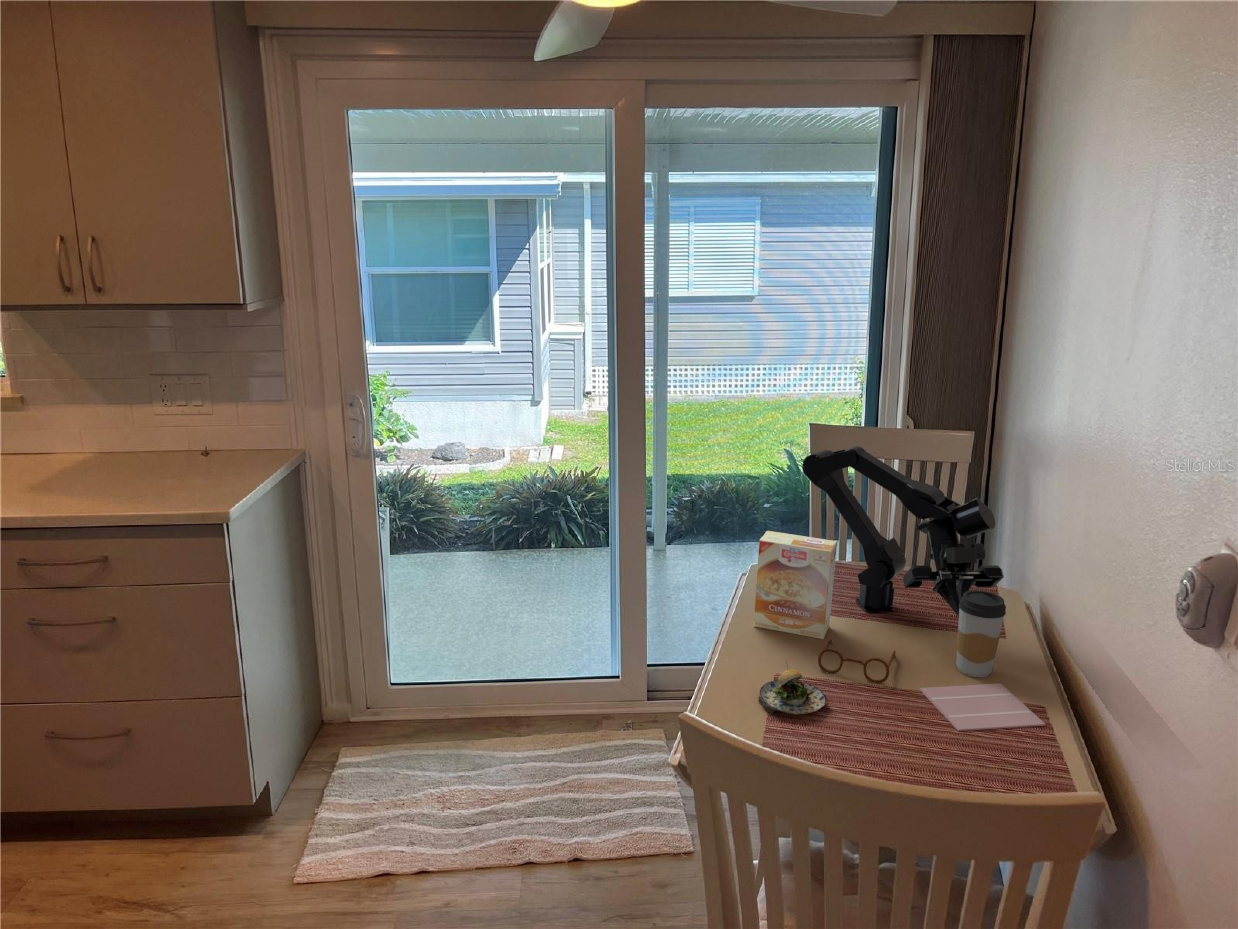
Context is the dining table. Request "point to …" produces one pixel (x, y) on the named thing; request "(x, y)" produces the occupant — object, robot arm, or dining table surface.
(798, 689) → the burger
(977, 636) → the coffee cup
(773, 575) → the coffeecake box
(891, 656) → the glasses
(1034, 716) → the pink napkin
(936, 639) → the dining table surface
